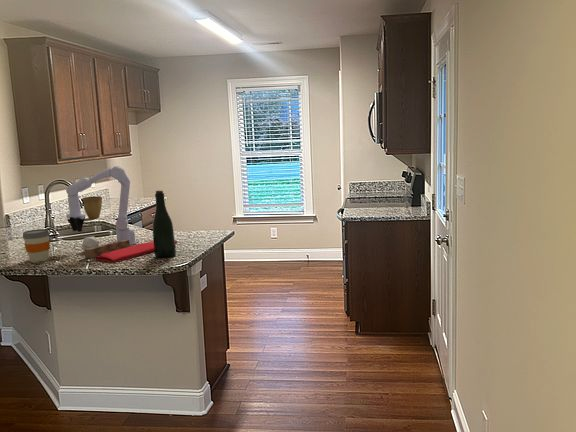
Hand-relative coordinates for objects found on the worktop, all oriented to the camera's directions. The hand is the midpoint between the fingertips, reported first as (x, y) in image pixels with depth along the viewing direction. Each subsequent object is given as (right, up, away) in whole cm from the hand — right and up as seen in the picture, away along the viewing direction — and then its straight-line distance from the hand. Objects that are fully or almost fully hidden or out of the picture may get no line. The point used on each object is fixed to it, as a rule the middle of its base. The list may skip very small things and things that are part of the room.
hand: (77, 231), depth 306 cm
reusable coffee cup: (-13, -14, -18) cm, 26 cm away
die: (+9, -11, -4) cm, 15 cm away
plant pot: (-32, +6, +119) cm, 123 cm away
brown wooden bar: (+21, -11, -12) cm, 26 cm away
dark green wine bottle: (+54, -12, -27) cm, 62 cm away
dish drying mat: (+37, -11, -15) cm, 42 cm away
